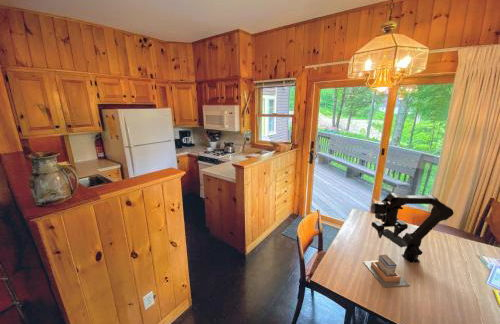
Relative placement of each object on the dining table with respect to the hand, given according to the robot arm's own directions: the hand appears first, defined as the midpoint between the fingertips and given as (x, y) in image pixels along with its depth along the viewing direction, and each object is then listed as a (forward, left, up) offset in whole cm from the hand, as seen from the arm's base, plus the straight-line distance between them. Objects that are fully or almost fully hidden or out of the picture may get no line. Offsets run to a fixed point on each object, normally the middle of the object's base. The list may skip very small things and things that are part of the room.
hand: (387, 237), depth 123 cm
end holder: (+9, +13, -13) cm, 20 cm away
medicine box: (+9, +13, -13) cm, 20 cm away
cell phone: (-19, -16, -14) cm, 28 cm away
